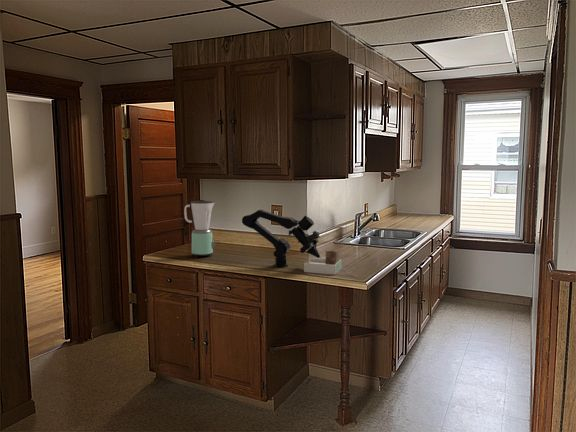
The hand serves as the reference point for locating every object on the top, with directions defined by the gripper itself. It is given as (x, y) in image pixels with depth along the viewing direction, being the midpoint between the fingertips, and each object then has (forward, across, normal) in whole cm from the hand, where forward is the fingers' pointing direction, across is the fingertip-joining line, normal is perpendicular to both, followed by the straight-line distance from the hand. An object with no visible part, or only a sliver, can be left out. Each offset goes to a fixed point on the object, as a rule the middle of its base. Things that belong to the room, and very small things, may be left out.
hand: (319, 257), depth 269 cm
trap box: (+7, -3, +3) cm, 8 cm away
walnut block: (+8, 0, -3) cm, 8 cm away
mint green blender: (-50, +10, +62) cm, 80 cm away
